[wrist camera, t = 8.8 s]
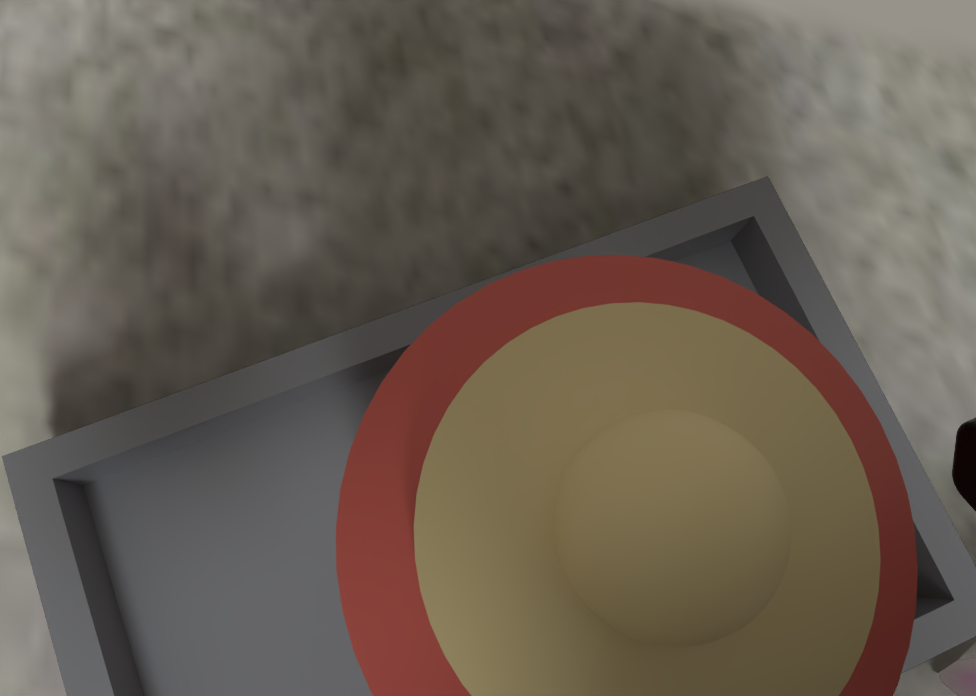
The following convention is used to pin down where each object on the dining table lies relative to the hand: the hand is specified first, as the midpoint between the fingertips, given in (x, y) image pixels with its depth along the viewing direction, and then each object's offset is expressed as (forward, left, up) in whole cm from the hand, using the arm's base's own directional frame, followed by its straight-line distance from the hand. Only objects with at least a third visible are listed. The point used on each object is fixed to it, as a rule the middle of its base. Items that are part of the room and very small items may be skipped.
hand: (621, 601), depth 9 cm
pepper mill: (+1, 0, -9) cm, 9 cm away
